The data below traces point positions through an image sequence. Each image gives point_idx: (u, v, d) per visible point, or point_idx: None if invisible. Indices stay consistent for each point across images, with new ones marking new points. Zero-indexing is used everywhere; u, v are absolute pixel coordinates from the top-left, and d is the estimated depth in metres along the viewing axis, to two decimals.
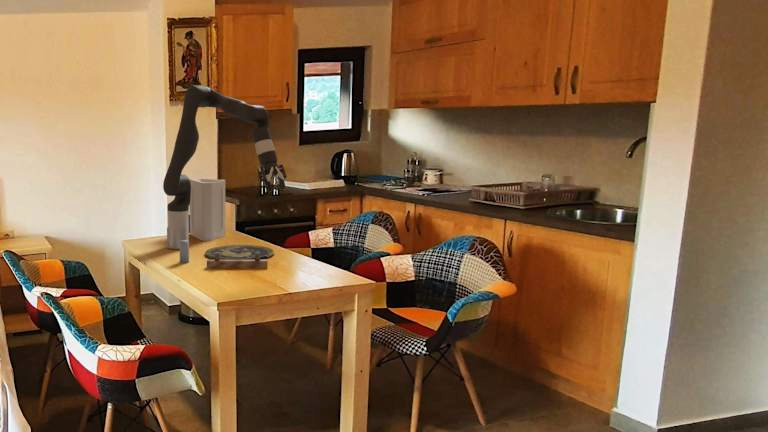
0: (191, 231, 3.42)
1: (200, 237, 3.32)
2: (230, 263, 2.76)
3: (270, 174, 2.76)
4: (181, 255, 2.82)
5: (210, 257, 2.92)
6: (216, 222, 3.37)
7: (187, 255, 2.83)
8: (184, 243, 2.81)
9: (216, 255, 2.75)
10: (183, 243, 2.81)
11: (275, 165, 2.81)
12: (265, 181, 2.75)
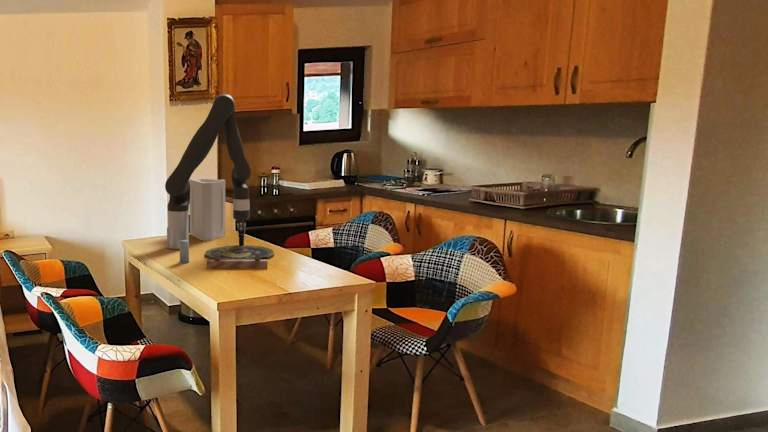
0: (191, 231, 3.42)
1: (200, 237, 3.32)
2: (230, 263, 2.76)
3: None
4: (181, 255, 2.82)
5: (210, 257, 2.91)
6: (216, 222, 3.37)
7: (187, 255, 2.83)
8: (184, 243, 2.81)
9: (216, 255, 2.75)
10: (183, 243, 2.81)
11: None
12: (242, 237, 3.14)
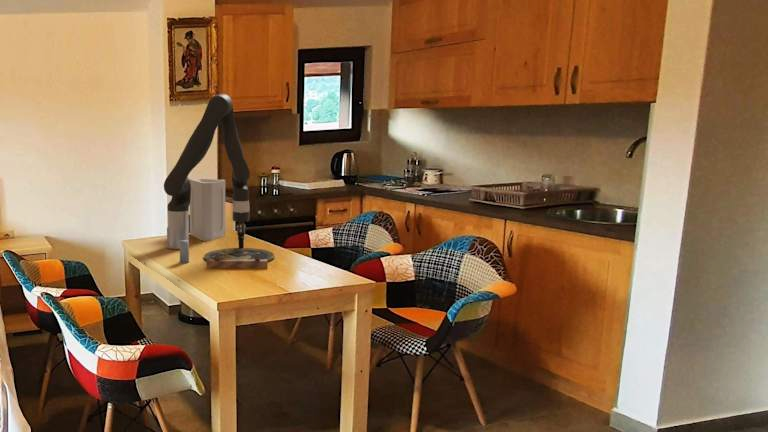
0: (191, 231, 3.42)
1: (200, 237, 3.32)
2: (230, 263, 2.76)
3: (244, 233, 3.09)
4: (181, 255, 2.82)
5: None
6: (216, 222, 3.37)
7: (187, 255, 2.83)
8: (184, 243, 2.81)
9: (216, 255, 2.75)
10: (183, 243, 2.81)
11: None
12: (241, 239, 3.09)
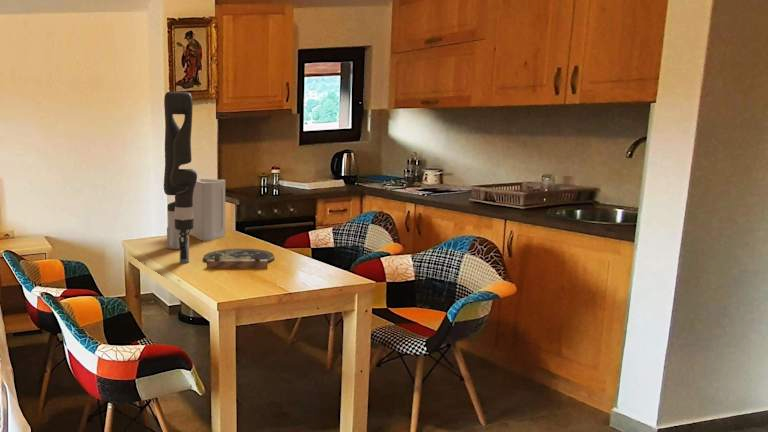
0: (191, 231, 3.42)
1: (200, 237, 3.32)
2: (230, 263, 2.76)
3: (187, 242, 2.81)
4: None
5: None
6: (216, 222, 3.37)
7: (187, 255, 2.83)
8: None
9: (216, 255, 2.75)
10: None
11: (187, 230, 2.85)
12: (184, 250, 2.80)
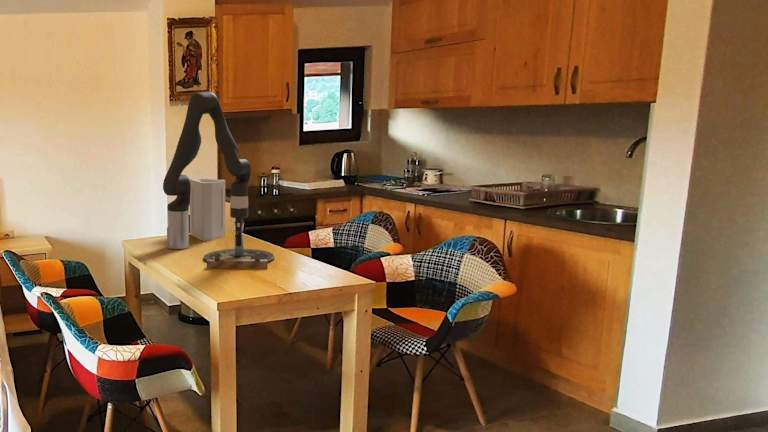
0: (191, 231, 3.42)
1: (200, 237, 3.32)
2: (230, 263, 2.76)
3: (242, 230, 2.90)
4: (236, 248, 2.92)
5: None
6: (216, 222, 3.37)
7: (242, 248, 2.93)
8: None
9: (216, 255, 2.75)
10: None
11: None
12: (239, 237, 2.87)
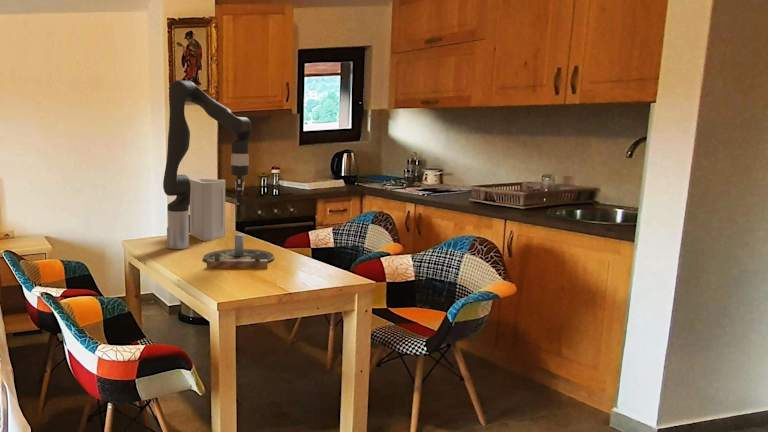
0: (191, 231, 3.42)
1: (200, 237, 3.32)
2: (230, 263, 2.76)
3: (243, 187, 2.92)
4: (236, 249, 2.92)
5: None
6: (216, 222, 3.37)
7: (242, 249, 2.93)
8: (239, 237, 2.91)
9: (216, 255, 2.75)
10: (238, 237, 2.91)
11: None
12: (240, 193, 2.90)
